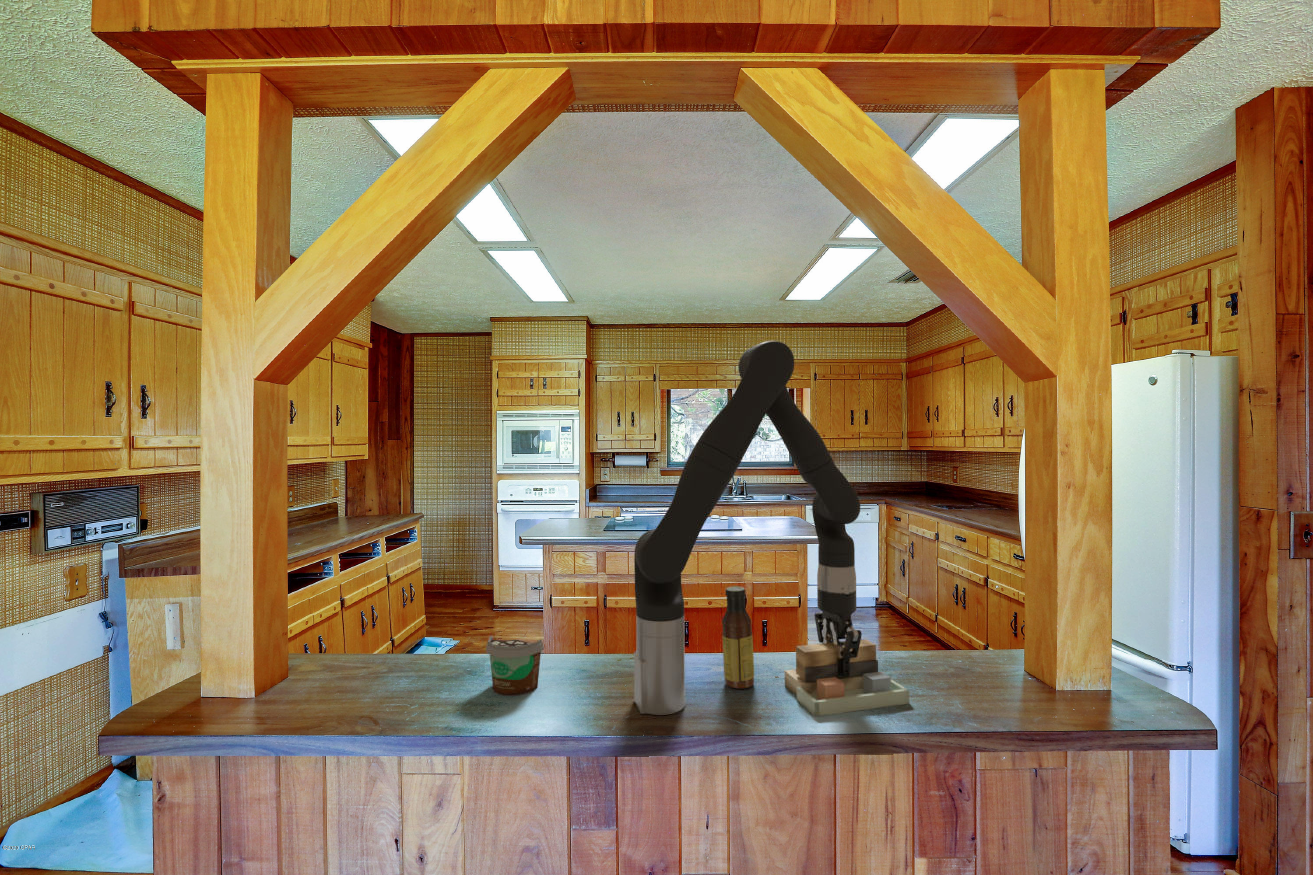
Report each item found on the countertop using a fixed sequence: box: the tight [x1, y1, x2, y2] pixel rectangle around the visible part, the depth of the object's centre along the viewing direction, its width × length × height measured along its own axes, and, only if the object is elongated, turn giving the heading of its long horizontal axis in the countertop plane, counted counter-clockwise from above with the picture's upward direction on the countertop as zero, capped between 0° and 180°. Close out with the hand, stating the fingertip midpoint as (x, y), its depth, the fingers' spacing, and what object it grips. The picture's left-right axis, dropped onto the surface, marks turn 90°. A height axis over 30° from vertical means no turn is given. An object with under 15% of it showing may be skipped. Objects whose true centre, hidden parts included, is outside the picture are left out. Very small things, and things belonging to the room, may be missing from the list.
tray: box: [796, 679, 910, 717], centre depth 112 cm, size 20×7×2 cm, turn 104°
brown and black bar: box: [795, 638, 879, 682], centre depth 117 cm, size 16×4×6 cm, turn 104°
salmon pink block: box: [817, 677, 844, 700], centre depth 111 cm, size 4×4×3 cm
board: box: [784, 668, 863, 696], centre depth 119 cm, size 18×7×3 cm, turn 104°
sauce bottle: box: [721, 585, 755, 690], centre depth 121 cm, size 7×6×20 cm
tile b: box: [863, 671, 892, 694], centre depth 113 cm, size 4×4×3 cm
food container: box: [485, 635, 545, 697], centre depth 118 cm, size 12×6×10 cm, turn 76°
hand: (837, 671), depth 117 cm, fingers closed on brown and black bar, 4 cm apart
